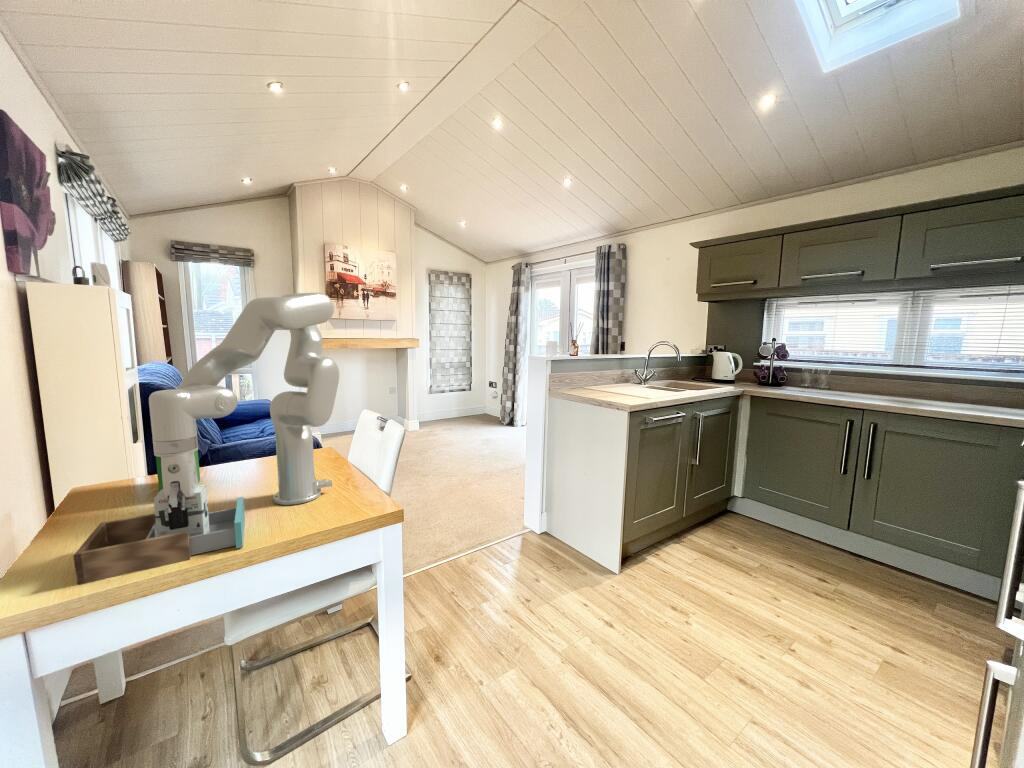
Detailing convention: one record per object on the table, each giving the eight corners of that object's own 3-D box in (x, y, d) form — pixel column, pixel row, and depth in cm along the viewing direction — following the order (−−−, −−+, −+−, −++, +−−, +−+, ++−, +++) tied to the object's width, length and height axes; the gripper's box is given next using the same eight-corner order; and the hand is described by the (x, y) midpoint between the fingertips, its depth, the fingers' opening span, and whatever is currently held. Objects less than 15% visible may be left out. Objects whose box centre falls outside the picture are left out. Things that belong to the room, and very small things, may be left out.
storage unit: (199, 529, 99) (197, 506, 98) (189, 559, 86) (187, 532, 85) (103, 548, 90) (100, 522, 89) (77, 584, 77) (73, 555, 76)
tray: (244, 518, 104) (243, 496, 103) (242, 547, 90) (240, 521, 90) (157, 535, 95) (155, 511, 94) (140, 569, 81) (137, 542, 80)
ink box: (156, 549, 87) (151, 497, 86) (164, 539, 91) (159, 489, 90) (205, 540, 91) (201, 490, 90) (210, 531, 95) (206, 483, 94)
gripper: (192, 452, 83) (199, 531, 85) (202, 435, 98) (207, 502, 100) (144, 458, 79) (152, 540, 81) (162, 439, 94) (168, 508, 96)
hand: (183, 519), depth 91 cm, fingers open, 9 cm apart
